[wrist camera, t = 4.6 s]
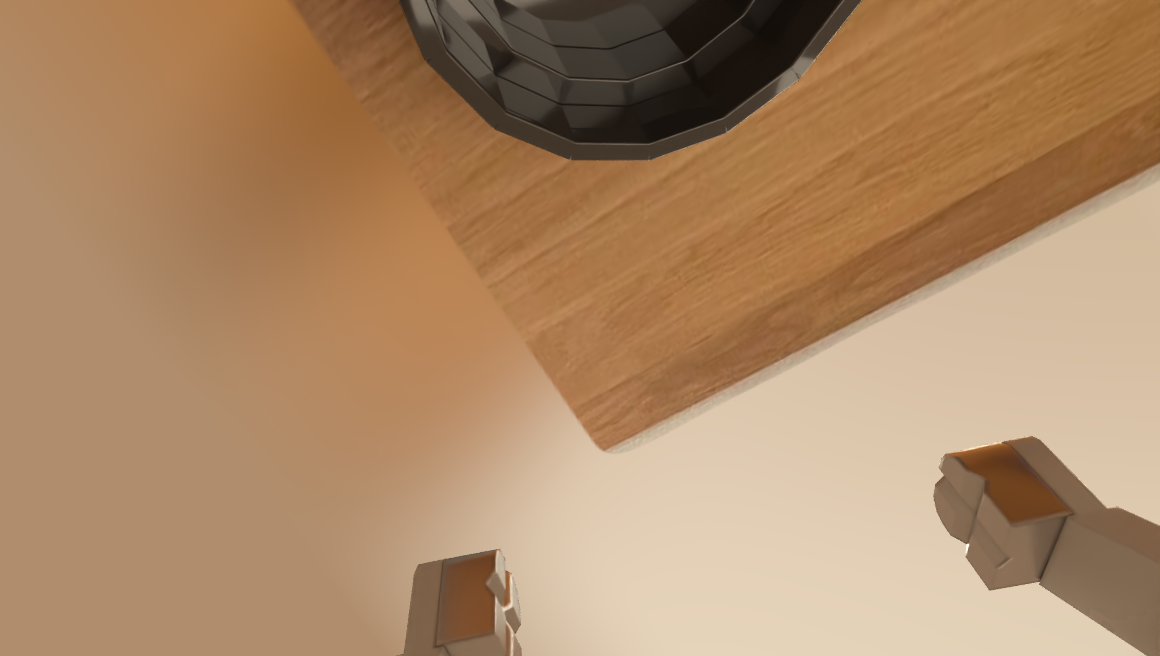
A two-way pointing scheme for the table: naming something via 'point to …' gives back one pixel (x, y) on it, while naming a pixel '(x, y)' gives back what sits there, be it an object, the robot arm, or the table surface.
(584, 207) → the table surface
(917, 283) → the table surface
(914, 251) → the table surface
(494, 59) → the bowl
